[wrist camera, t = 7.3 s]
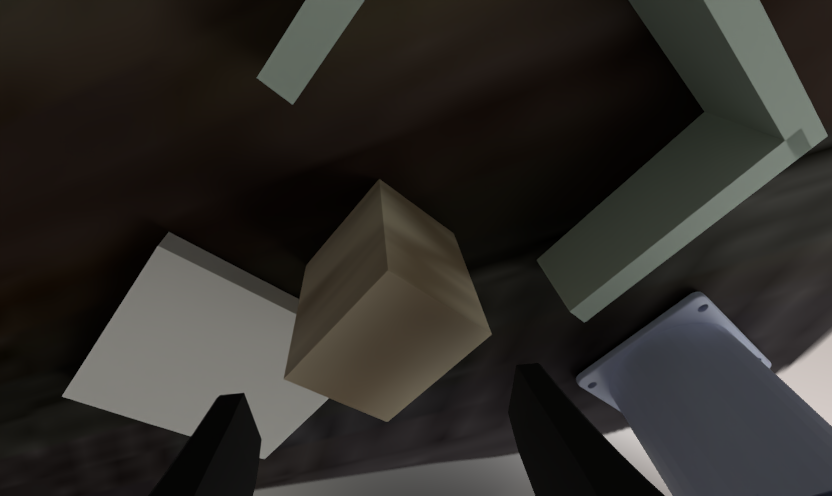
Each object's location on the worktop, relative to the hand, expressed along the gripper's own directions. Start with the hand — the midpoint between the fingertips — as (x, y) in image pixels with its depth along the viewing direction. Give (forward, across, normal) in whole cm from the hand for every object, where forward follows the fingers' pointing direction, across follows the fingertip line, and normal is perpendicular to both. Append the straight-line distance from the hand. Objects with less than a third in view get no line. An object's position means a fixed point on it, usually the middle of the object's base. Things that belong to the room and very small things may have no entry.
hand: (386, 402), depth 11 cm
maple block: (+8, 0, 0) cm, 8 cm away
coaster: (+7, +8, +5) cm, 12 cm away
